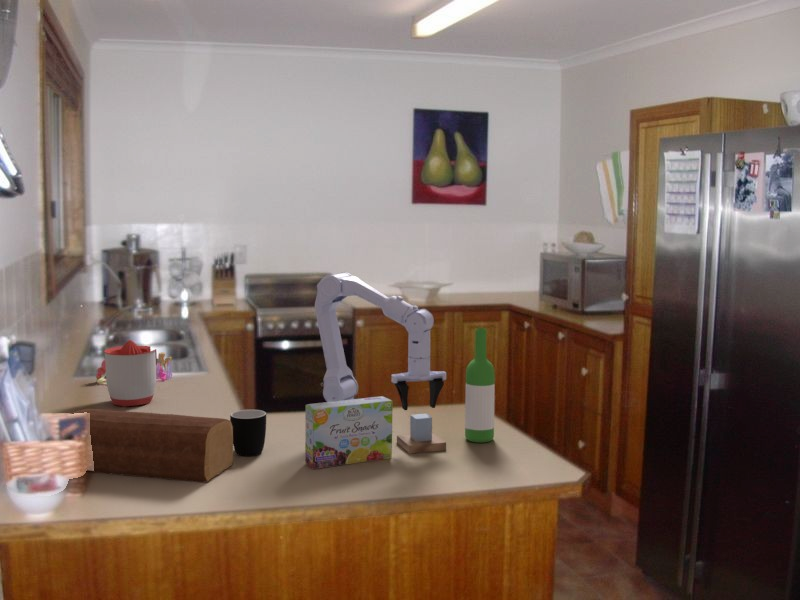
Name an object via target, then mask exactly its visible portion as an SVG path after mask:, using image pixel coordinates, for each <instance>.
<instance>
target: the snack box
mask: <svg viewBox="0 0 800 600" xmlns="http://www.w3.org/2000/svg"><path fill="white" fill-rule="evenodd" d="M393 401H394V400H392V399H390V398H388V397H385V396H383V395H381V396H371V397H364V398H354V399H352V400H343V401H334V402H327V401H326V402H317V403H308V404H305V414H304V415H305V417H304V418H305V421H304V423H305V433H304V434H305V447H304V448H305V464H307V465H308V467H310V468H311V469H312V470H317V469H322V468H330V467H331V468H332V467H336V466H345V465H351V464H359V463H367V462H373V461H379V460H386V459H391V458H392V456H393V409H394V407H393V406H394V405H393V404H394V403H393Z"/></svg>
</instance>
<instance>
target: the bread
mask: <svg viewBox="0 0 800 600" xmlns="http://www.w3.org/2000/svg"><path fill="white" fill-rule="evenodd" d="M84 412H87V413H90V435H91V445H92V451H93V461H94V471H95V472H94V473H102V474H110V473H112V474H111V475H121V474H123V475H124V476H131V477H132V476H134V477H144V478H151V479H152V478H153V479H165V480H175V481H184V482H185V481H186V482H198V483H207V482H208V481H210V480H212V479H213V478H215V477H216V476H217V475H219V474H220V473H222V472H223V471H225V470H226V469H228V468H229V467H231V466H232V465H233V463H234V462H233V461H234V446H233V427H232V423H231V421H230V419H226V418H222V417H221V418H218V417H209V416H208V417H205V416H196V415H195V416H194V415H193V416H192V415H184V414H172V413H171V414H169V413H156V412H145V411H144V412H141V411H123V410H113V409H112V410H111V409H103V408H101V409H100V408H84V409H80V410H76V411H73V412H70V413H69V414H74V413H84Z"/></svg>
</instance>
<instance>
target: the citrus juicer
mask: <svg viewBox="0 0 800 600" xmlns="http://www.w3.org/2000/svg"><path fill="white" fill-rule="evenodd" d="M103 353H104V355H105V356H104V360H105V364H106V372H105V376H106V382H107V385H106V387H107V391H108V394H109V399H110V401H111V402H112V404H113V405H115V406H121V407H122V408H123V407H124V408H127V407H130V406H133V407H134V406H142V405H148V404H149V403H150V402H152V401H153V398H154V395H155V389H156V385H157V384H156V383H157V382H156V365H157V363H162V362H161V360H160V359H158V354H157V349H153V350H151V346H150V345H137V344H136V343H135V342H134V341H133V340H131V339H130V340H127V341H126V342H125V343H124V345H122V346H115V347H110V348H107V349H105V350H104V351H103Z"/></svg>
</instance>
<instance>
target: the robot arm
mask: <svg viewBox="0 0 800 600" xmlns="http://www.w3.org/2000/svg"><path fill="white" fill-rule="evenodd" d="M316 290H317V292H316V297H315V302H314V311H315V317H316V320H317V321H316V322H317V326H318V330H319V331H318V332H319V335H320V336H319V337H320V342H321V346H322V351H323V356H324V361H325V367H326V372H325V374H324V376H323V379H322V380H323V389H322V397H323V398H324V400H325V401H326V402H334V401H343V400H352V399H355V396H356V395H358V392H359V384H358V381H357V380H356V378H355V377H354V374H353V370H351V368H350V367H349V366H348V365H347V360H346V355H345V352H344V351H345V350H344V345H343V341H342V336H341V330H340V327H339V321H338V320H339V319H338V315H337V311H336V310H337V308H338V306H339V305H340V304H341V302H342V301H343V300H345V299H346V298H348V297H352V296H354V297H355V296H356V297H358V298H360V299H363V300H364V301H367V302H368V303H370V304H372V305H374V306H376V307H378V308H380V309H381V310H382V313H383V315H384V316H385V317H387V318H388V319H390V320H393V321H395V322H396V323H397V324H399V325H402V326H403V327H404V328H405V329H406V332H407V333H408V339H407V341H408V342H407V343H408V344H407V345H408V347H407V349H408V352H407V353H408V354H407V356H408V357H407V365H408V366H407V372H400V373H393V374H391V375H390V376H391V378H390V381H391V383H392V384H394V386H395V388H396V390H397V393H398V396H399V399H400V402H401V407H402V409H403V410H404V411H408V408H409V407H408V406H409V405H408V403H409V401H408V400H409V399H408V396H409V389H410V386H409V385H408V383H409V382H424V381H425V382H426V381H428V385H429V407H430V408H431V409H435V408H436V404H437V401H438V399H439V398H438V397H439V395H440V392H441V390H442V389H443V387H444V384H445V381H446V380H447V372H446V371H443V370H442V371H441V370H440V371H439V370H438V371H436V370H435V371H433V370H431V329H432V328H433V327H434V322H435V320H434V316H433V314H432V313H431V312H430V311H429V310H428V309H426V308H421V309H419V306H417V305H412V304H410V303H408V302H407V301H405V300H404V297H403V296H401V295H398V296H397V295H392V296H390V297H388V296H387V295H385V294H384V293H382V292H381V291H379V290H377V289H376V288H374V287H372V286H371V285H370V284H368V283H366V282H365V281H363V280H361V279H360V278H359V277H358V276H355V275H352V274H351V273H349V272H346V271H343V272H340V273H336V274H326V275H325V276H323V277H322V278H321V280H319V282H318V283H317V284H316ZM407 382H408V383H407Z"/></svg>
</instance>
